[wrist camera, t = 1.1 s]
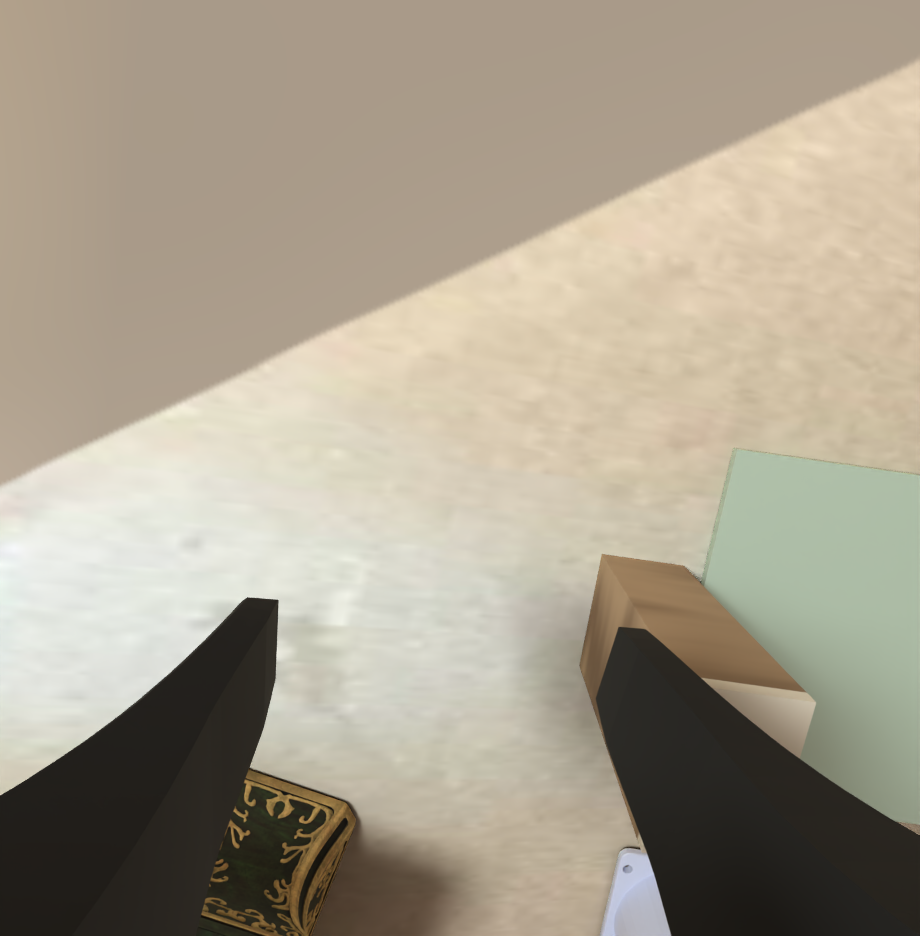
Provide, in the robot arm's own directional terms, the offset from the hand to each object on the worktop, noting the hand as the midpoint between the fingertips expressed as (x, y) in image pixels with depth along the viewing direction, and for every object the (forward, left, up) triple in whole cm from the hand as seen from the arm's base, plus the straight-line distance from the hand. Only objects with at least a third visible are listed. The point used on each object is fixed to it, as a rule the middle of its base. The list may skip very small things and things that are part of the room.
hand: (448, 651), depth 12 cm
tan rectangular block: (-6, -9, -15) cm, 19 cm away
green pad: (-6, -20, -15) cm, 26 cm away
